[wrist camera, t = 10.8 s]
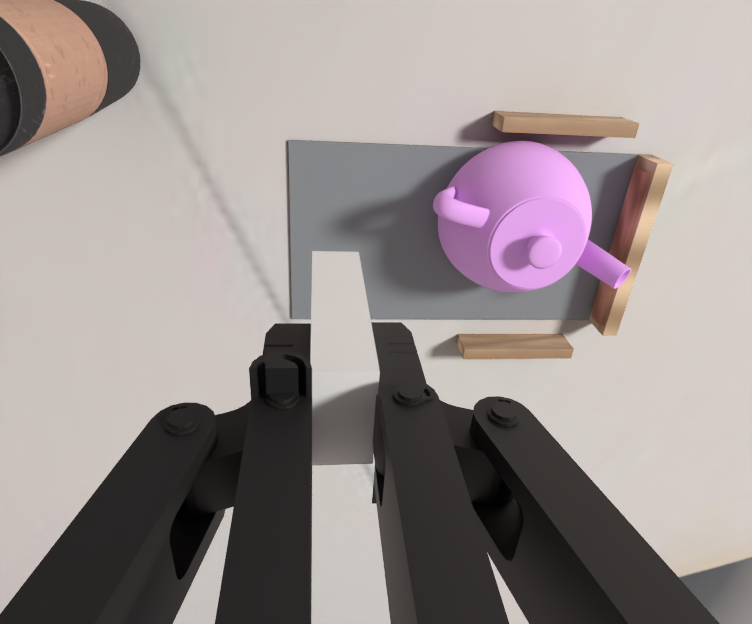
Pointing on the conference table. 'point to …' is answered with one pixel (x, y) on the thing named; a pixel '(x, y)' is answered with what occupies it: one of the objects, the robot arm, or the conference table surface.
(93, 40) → the travel mug
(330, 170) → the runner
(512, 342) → the bay
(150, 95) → the conference table surface
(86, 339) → the conference table surface
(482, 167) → the teapot
